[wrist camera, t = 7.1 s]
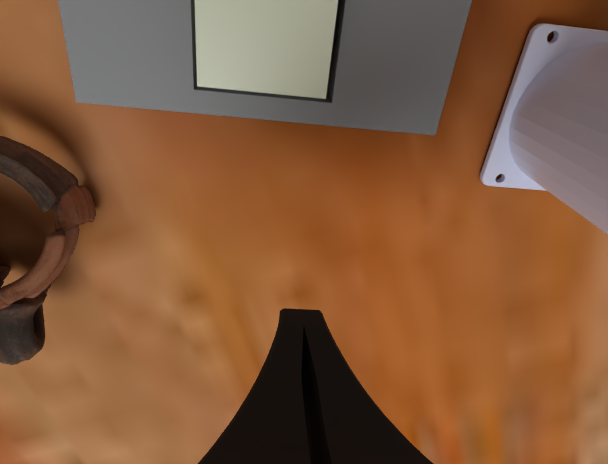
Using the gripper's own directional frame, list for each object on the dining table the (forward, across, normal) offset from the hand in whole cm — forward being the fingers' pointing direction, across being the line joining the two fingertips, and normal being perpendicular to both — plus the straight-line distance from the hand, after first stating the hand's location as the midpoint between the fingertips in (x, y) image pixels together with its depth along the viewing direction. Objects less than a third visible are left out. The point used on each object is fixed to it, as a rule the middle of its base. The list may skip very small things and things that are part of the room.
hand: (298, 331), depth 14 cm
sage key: (+10, +2, -9) cm, 14 cm away
